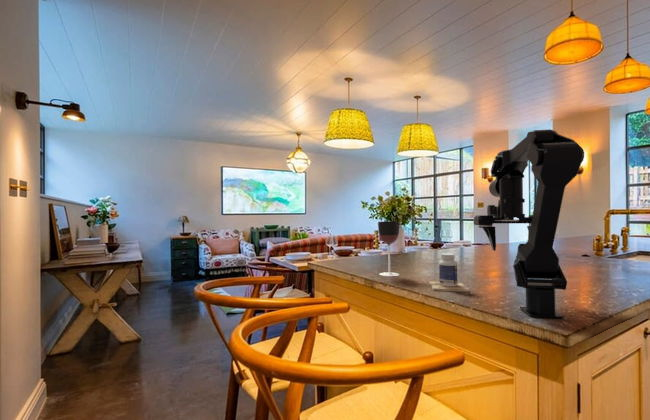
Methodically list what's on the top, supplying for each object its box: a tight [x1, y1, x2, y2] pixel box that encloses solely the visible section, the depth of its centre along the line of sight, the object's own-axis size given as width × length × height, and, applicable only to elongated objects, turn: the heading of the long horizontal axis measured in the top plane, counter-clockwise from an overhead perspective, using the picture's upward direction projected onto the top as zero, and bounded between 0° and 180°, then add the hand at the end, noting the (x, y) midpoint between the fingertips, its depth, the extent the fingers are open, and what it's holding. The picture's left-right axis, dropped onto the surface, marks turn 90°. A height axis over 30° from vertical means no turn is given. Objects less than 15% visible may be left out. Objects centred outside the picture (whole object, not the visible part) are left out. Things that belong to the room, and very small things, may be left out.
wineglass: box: [377, 221, 400, 277], centre depth 123 cm, size 8×9×20 cm
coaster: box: [428, 281, 470, 293], centre depth 101 cm, size 10×10×1 cm
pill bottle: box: [438, 252, 458, 287], centre depth 101 cm, size 5×5×10 cm
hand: (511, 250), depth 91 cm, fingers open, 9 cm apart
